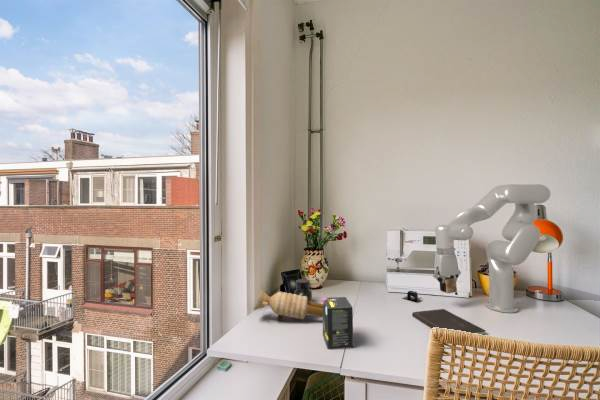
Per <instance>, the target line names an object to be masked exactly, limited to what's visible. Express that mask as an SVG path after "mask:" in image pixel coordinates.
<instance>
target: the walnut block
mask: <svg viewBox="0 0 600 400" xmlns="http://www.w3.org/2000/svg"><path fill="white" fill-rule="evenodd" d="M441 279H442V278H441ZM444 283H446V292H444V291H441V290H440V289H439V291H441V292H442V293H446V294H454V293H457V292H458V290H457V289H458V288H457V281H456V279H454V278H451V277H450V276H446V277H445V282H444Z"/></svg>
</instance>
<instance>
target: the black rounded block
mask: <svg viewBox="0 0 600 400" xmlns="http://www.w3.org/2000/svg"><path fill="white" fill-rule="evenodd" d="M406 295H407V296H404V297H402V298H401V299H402V300H406V301H410V302H412V303H416V304H419V303H422V302H424V300H422V299H419V297H418V296H419V295H418V292H417V291H413V290H408V291H407V293H406Z"/></svg>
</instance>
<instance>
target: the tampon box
mask: <svg viewBox="0 0 600 400" xmlns="http://www.w3.org/2000/svg"><path fill="white" fill-rule="evenodd" d="M322 304H323V317H322V337H323V340H324V342H325V343H324V344H325V346H326V348H327V350H330V349H351V348H352V349H354V327H353V326H354V324H353V323H354V322H353V321H354V316H353V315H354V314H353V313H354V312H353V311H354V310H353V306H352V304H351V302H350V301H349V300H348V298H347V297H346V296H337V297H334V296H333V297H322Z"/></svg>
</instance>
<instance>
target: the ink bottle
mask: <svg viewBox="0 0 600 400" xmlns="http://www.w3.org/2000/svg"><path fill="white" fill-rule="evenodd" d="M310 283H311V281H310V280H309V279H306V278H299V279H296V280H295V288H296V289H295V290H294V291H293V294H296V295H301V296H307V298H308V301H311V302H313V293H312V290H311V289H310V288H311V284H310Z"/></svg>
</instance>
